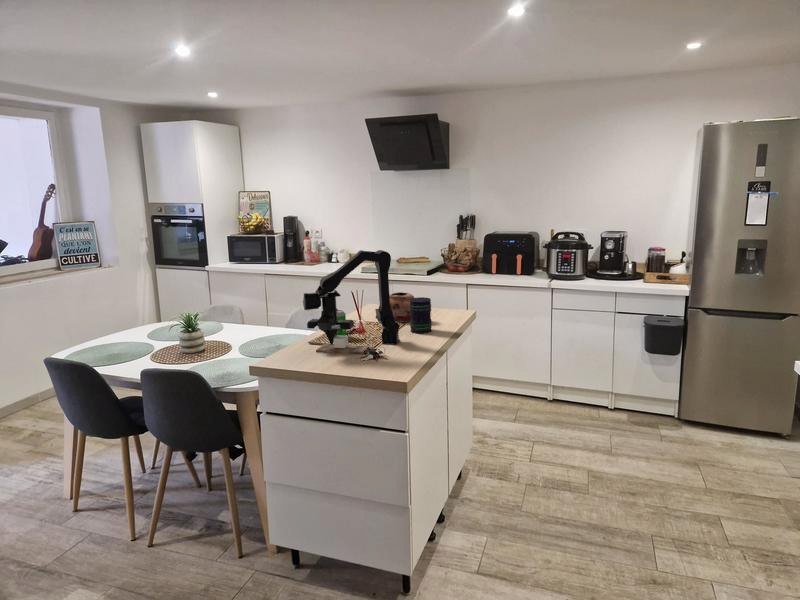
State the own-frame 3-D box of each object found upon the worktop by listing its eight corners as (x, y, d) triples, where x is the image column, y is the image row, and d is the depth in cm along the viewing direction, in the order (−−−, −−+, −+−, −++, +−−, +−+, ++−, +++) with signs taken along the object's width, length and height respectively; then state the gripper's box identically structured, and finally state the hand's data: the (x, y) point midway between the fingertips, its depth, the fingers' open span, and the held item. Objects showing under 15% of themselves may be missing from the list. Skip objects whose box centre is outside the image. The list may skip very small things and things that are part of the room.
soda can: (326, 338, 248) (324, 312, 246) (336, 334, 255) (334, 309, 252) (340, 340, 245) (339, 313, 243) (349, 336, 251) (348, 310, 249)
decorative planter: (376, 322, 275) (375, 294, 273) (386, 316, 287) (385, 290, 284) (414, 324, 268) (413, 296, 265) (422, 319, 279) (421, 291, 276)
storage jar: (432, 328, 260) (431, 297, 257) (431, 333, 250) (430, 301, 247) (411, 328, 261) (410, 297, 258) (409, 334, 251) (408, 301, 248)
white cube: (348, 345, 231) (347, 335, 230) (344, 348, 227) (344, 338, 226) (338, 344, 232) (337, 335, 231) (334, 347, 228) (333, 338, 227)
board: (368, 348, 231) (368, 345, 231) (362, 354, 223) (362, 351, 223) (324, 346, 236) (324, 343, 236) (316, 352, 228) (315, 349, 228)
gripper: (300, 311, 222) (303, 349, 225) (344, 312, 217) (346, 350, 220) (311, 305, 233) (313, 341, 236) (353, 306, 228) (355, 342, 231)
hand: (331, 344), depth 230 cm, fingers closed
